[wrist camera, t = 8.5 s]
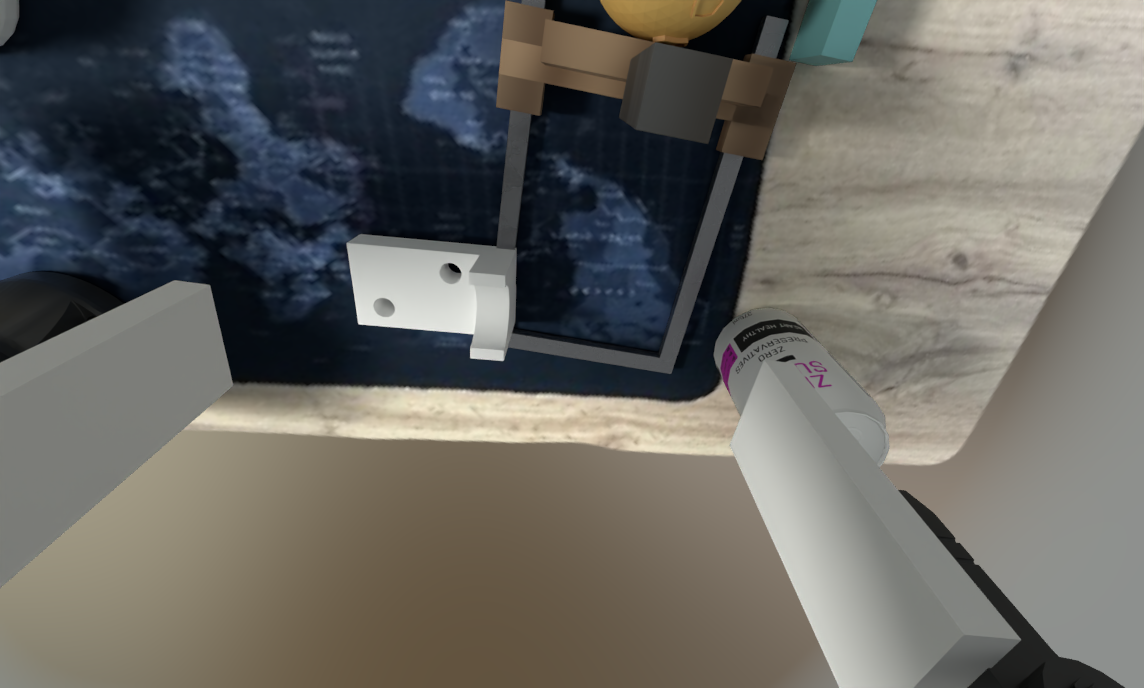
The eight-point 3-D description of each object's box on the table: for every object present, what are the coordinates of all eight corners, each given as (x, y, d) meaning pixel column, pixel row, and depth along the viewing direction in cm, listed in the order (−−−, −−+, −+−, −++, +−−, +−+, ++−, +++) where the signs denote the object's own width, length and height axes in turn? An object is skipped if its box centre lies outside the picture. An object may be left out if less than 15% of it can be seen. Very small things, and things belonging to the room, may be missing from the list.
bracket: (518, 244, 40) (505, 275, 33) (515, 319, 43) (503, 360, 36) (365, 231, 39) (320, 259, 33) (374, 307, 43) (336, 346, 36)
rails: (488, 338, 44) (486, 343, 43) (527, -35, 30) (525, -38, 29) (669, 368, 45) (671, 374, 44) (783, 22, 31) (788, 20, 31)
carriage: (501, 106, 34) (435, 117, 19) (511, 7, 31) (441, -76, 16) (750, 155, 35) (881, 204, 20) (781, 65, 32) (961, 40, 17)
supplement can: (761, 394, 46) (833, 515, 33) (694, 357, 44) (742, 470, 31) (820, 331, 43) (928, 438, 29) (750, 288, 41) (831, 382, 28)
